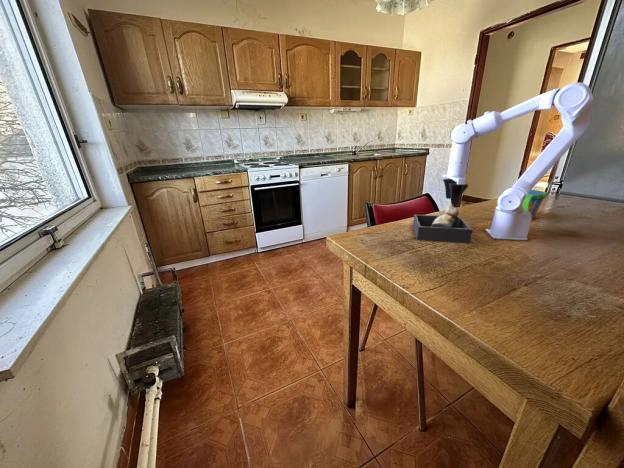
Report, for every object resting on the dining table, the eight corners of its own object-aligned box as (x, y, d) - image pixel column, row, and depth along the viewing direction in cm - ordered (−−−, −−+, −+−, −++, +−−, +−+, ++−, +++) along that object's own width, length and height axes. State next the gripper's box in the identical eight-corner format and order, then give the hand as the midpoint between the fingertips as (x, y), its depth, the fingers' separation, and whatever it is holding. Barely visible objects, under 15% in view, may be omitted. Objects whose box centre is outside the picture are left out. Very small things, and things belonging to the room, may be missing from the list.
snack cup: (509, 210, 111) (515, 186, 107) (541, 214, 104) (549, 189, 100) (501, 218, 101) (507, 193, 97) (535, 224, 94) (543, 197, 90)
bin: (458, 228, 93) (460, 216, 91) (469, 243, 81) (472, 229, 79) (412, 226, 97) (414, 214, 95) (416, 239, 85) (418, 226, 83)
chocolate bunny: (438, 219, 84) (448, 194, 87) (428, 227, 91) (437, 204, 94) (455, 226, 83) (464, 201, 86) (444, 234, 90) (452, 211, 93)
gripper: (441, 160, 95) (436, 196, 100) (450, 164, 82) (444, 205, 87) (462, 160, 94) (455, 196, 99) (475, 164, 80) (467, 206, 85)
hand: (451, 200), depth 93 cm, fingers open, 7 cm apart
